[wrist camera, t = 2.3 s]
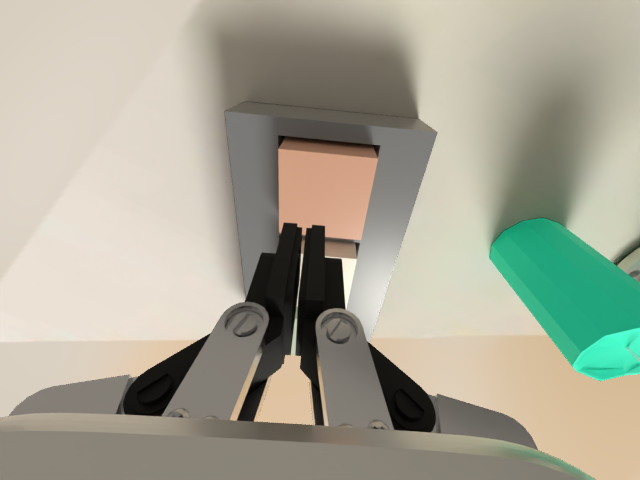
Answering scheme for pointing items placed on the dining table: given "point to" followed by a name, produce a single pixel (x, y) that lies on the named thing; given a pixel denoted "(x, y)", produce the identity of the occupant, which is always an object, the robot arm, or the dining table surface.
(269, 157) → the keypad
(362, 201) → the key terracotta
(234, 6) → the dining table surface
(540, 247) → the candle
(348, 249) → the key cream
